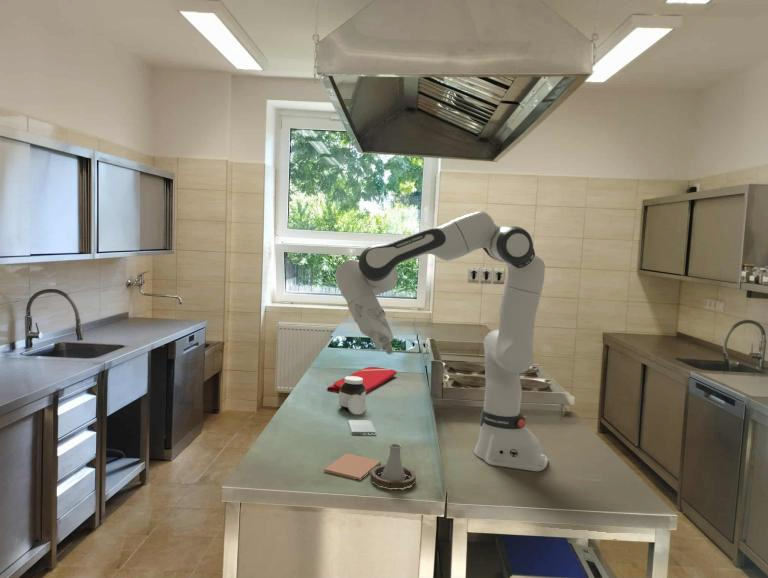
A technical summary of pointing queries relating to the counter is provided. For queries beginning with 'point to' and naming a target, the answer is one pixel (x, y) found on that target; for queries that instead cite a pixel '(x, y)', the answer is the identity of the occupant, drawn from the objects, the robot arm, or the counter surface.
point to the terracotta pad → (352, 466)
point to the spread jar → (353, 395)
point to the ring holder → (392, 484)
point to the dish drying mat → (367, 378)
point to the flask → (394, 465)
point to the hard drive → (361, 427)
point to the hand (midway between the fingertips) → (385, 351)
